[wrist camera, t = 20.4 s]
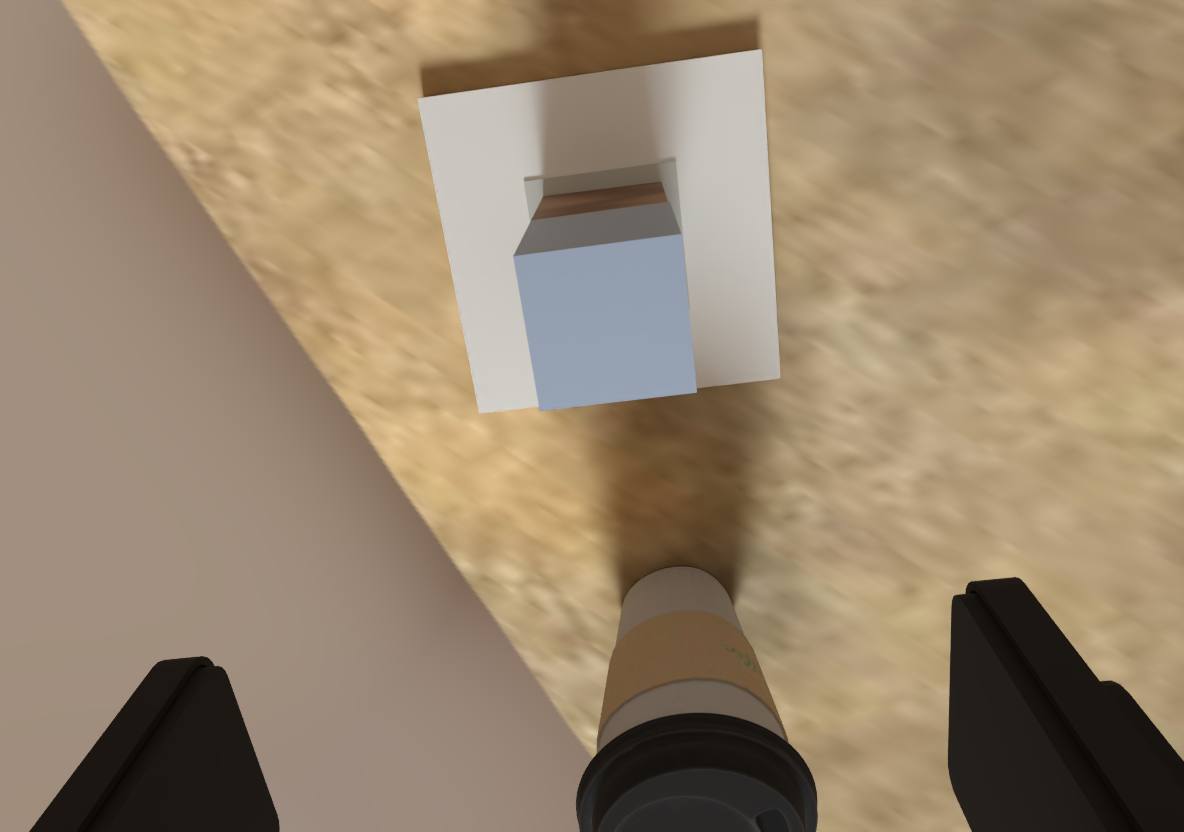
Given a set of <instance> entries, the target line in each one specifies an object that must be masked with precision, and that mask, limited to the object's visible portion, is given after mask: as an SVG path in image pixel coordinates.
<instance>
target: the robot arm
mask: <svg viewBox="0 0 1184 832" xmlns="http://www.w3.org/2000/svg"><path fill="white" fill-rule="evenodd" d="M948 769H949V775H950V780H951V784H952V787H953V790H954V793H955V795H956V798H957V800H958V802H959V804H960V806H961V809H962V811H963V813H964V815H965V817H966V820H967V822H968V824H969V826H970V828H971V831H972V832H1184V761H1183V760H1182V759H1181V758H1180V756H1179V755H1178V754H1177V753H1176V751H1175V750H1174V749H1173V748H1172V746H1171V745H1170V744H1169V743H1168V741H1167V740H1166V739H1165V738H1164V736H1163V735H1162V734H1161V733H1160V731H1159V730H1158V729H1157V728H1156V726H1155V725H1154V724H1153V723H1152V721H1151V720H1150V719H1149V718H1148V716H1147V715H1146V714H1145V712H1144V711H1143V710H1142V709H1141V707H1140V706H1139V705H1138V704H1137V702H1136V701H1135V700H1134V699H1133V697H1132V696H1131V695H1130V694H1129V693H1128V692H1127V691H1126V690H1125V689H1124V688H1123V687H1122V686H1121V685H1120V684H1118V683H1116V682H1113V681H1099V680H1098V678H1097V677H1096V676H1095V674H1094V673H1093V672H1092V671H1091V669H1090V668H1089V667H1088V665H1087V664H1086V663H1085V661H1084V660H1083V659H1082V657H1081V656H1080V655H1079V654H1078V652H1077V651H1076V650H1075V648H1074V647H1073V646H1072V644H1071V643H1070V642H1069V641H1068V639H1067V638H1066V637H1065V635H1064V634H1063V633H1062V631H1061V630H1060V629H1059V627H1058V626H1057V625H1056V624H1055V622H1054V621H1053V620H1052V618H1051V617H1050V616H1049V614H1048V613H1047V612H1046V611H1045V609H1044V608H1043V607H1042V605H1041V604H1040V603H1039V601H1038V600H1037V599H1036V598H1035V596H1034V595H1033V594H1032V592H1031V591H1030V590H1029V588H1028V587H1027V586H1026V584H1025V583H1024V582H1023V581H1022V580H1021V579H1020V578H1016V577H1013V578H1003V579H992V580H982V581H972V582H970V583H968V585H967V588H966V594H962V595H955V596H954V597H953V600H952V611H951V653H950V695H949V736H948ZM29 832H279V819H278V815H277V813H276V810H275V807H274V804H273V801H272V799H271V796H270V793H269V790H268V787H267V785H266V782H265V779H264V776H263V773H262V771H261V768H260V765H259V762H258V759H257V757H256V754H255V751H254V748H253V745H252V743H251V740H250V737H249V735H248V732H247V729H246V726H245V723H244V721H243V718H242V715H241V712H240V709H239V706H238V703H237V701H236V698H235V695H234V692H233V689H232V687H231V684H230V681H229V678H228V675H227V674H226V671H225V670H224V669H223V668H222V667H219V666H214V664H213V662H212V661H211V660H210V659H209V658H207V657H203V656H200V657H190V658H180V659H170V660H163V661H160V662H158V663H157V664H156V665H155V666H154V667H153V668H152V669H151V670H150V672H149V673H148V674H147V676H146V677H145V678H144V680H143V681H142V682H141V684H140V685H139V686H138V688H137V689H136V690H135V692H134V693H133V694H132V696H131V697H130V698H129V700H128V701H127V703H126V704H125V705H124V706H123V708H122V709H121V710H120V712H119V713H118V714H117V716H116V717H115V718H114V720H113V721H112V722H111V724H110V725H109V726H108V728H107V729H106V730H105V732H104V733H103V734H102V736H101V737H100V738H99V740H98V741H97V742H96V744H95V745H94V746H93V748H92V749H91V750H90V752H89V753H88V754H87V756H86V757H85V758H84V759H83V761H82V762H81V763H80V765H79V766H78V767H77V769H76V770H75V771H74V773H73V774H72V775H71V777H70V778H69V779H68V781H67V782H66V783H65V785H64V786H63V787H62V789H61V790H60V791H59V793H58V794H57V795H56V797H55V798H54V799H53V801H52V802H51V803H50V805H49V806H48V808H47V809H46V810H45V811H44V813H43V814H42V815H41V817H40V818H39V819H38V821H37V822H36V823H35V825H34V826H33V828H32V829H31V830H30V831H29Z"/></svg>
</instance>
